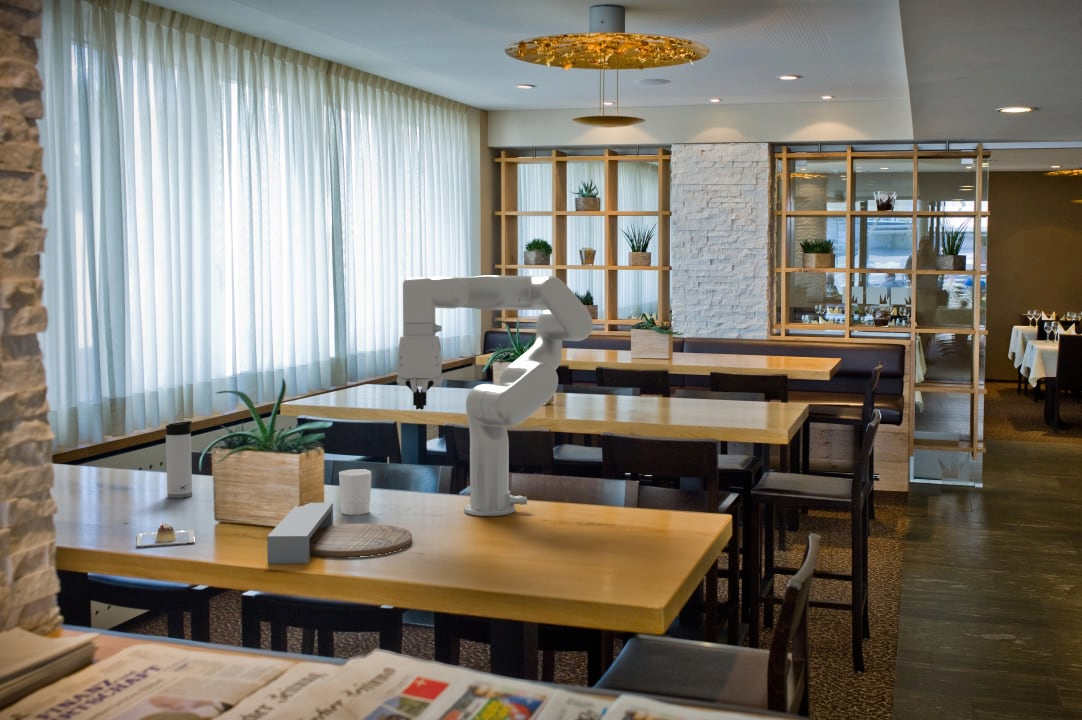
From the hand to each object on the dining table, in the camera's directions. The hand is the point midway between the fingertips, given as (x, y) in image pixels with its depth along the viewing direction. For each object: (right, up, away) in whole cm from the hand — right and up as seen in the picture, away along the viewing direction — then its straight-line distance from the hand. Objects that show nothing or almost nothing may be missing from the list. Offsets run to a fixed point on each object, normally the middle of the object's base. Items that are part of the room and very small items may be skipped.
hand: (419, 408), depth 258 cm
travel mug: (-67, -25, +33) cm, 79 cm away
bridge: (-23, -29, -19) cm, 41 cm away
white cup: (-17, -26, +14) cm, 34 cm away
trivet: (-12, -29, -18) cm, 36 cm away
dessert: (-54, -29, -15) cm, 63 cm away
